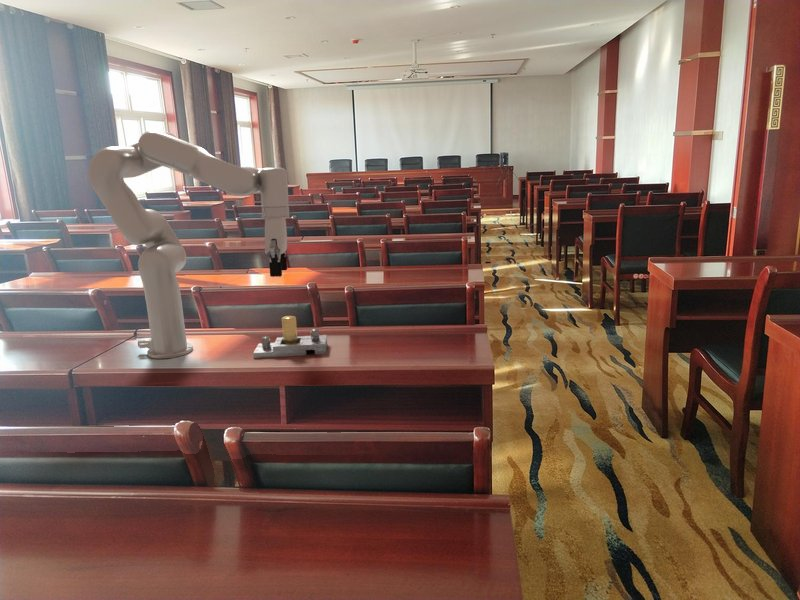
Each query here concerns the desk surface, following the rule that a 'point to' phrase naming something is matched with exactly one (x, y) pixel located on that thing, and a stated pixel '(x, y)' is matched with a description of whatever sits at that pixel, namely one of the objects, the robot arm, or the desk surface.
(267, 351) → the slotted link plate
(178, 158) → the robot arm
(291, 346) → the upper chain link
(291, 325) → the brass pin
